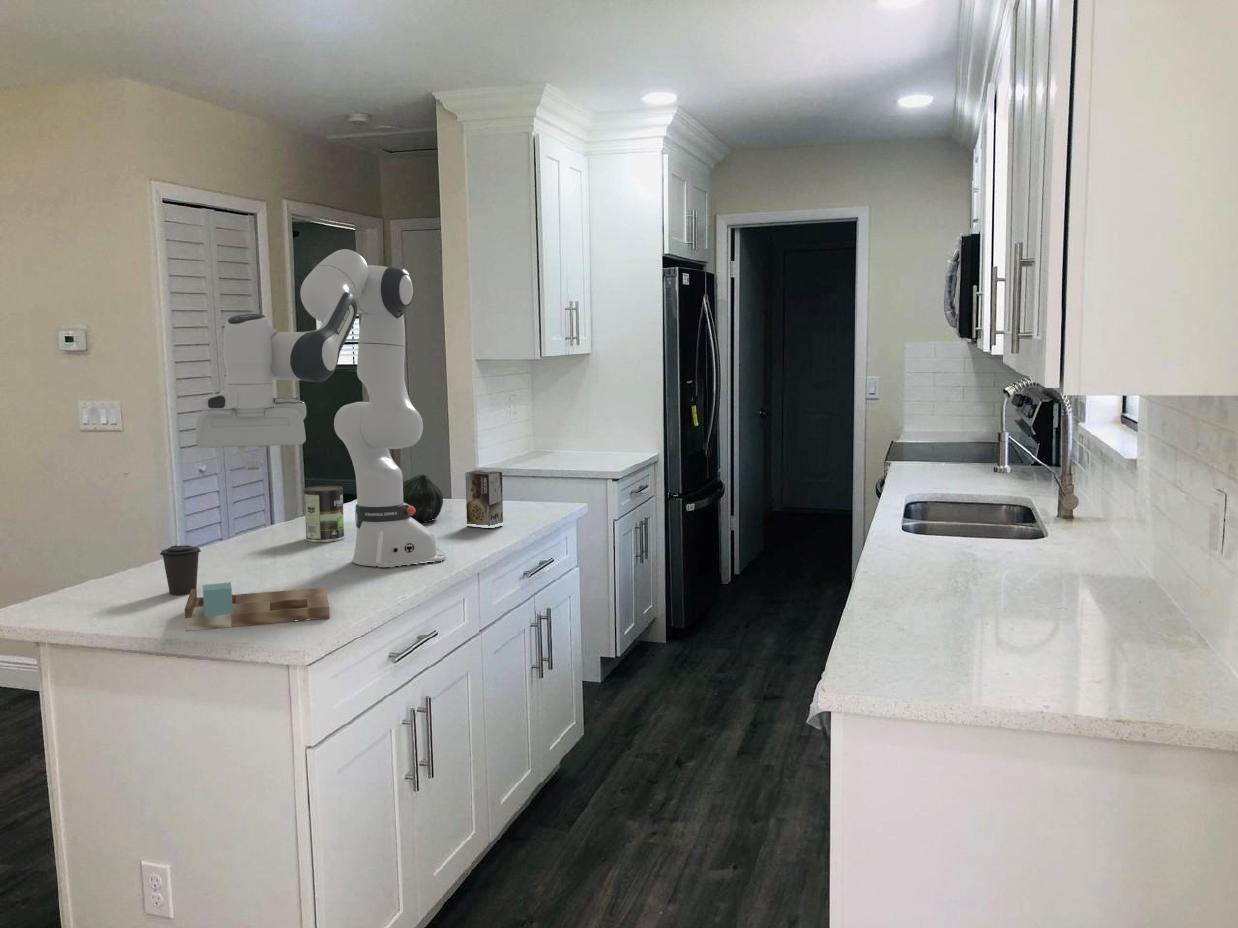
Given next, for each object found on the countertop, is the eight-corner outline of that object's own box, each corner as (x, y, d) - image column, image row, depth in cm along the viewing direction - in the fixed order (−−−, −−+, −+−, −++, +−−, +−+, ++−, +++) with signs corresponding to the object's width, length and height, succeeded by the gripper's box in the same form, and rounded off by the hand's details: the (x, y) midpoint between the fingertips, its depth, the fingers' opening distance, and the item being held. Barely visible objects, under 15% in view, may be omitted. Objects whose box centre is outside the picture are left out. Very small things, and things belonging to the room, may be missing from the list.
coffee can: (349, 535, 282) (347, 485, 281) (338, 542, 272) (336, 490, 270) (312, 535, 283) (310, 485, 281) (300, 542, 272) (298, 490, 271)
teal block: (231, 607, 198) (230, 582, 197) (232, 613, 193) (231, 588, 192) (204, 610, 196) (202, 584, 195) (204, 616, 191) (203, 590, 190)
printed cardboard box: (504, 526, 296) (503, 471, 294) (489, 529, 290) (488, 474, 288) (480, 523, 301) (479, 469, 299) (465, 526, 295) (464, 471, 293)
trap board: (325, 598, 213) (325, 579, 213) (329, 618, 198) (328, 597, 198) (192, 609, 205) (191, 589, 205) (185, 630, 190) (184, 609, 190)
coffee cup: (173, 587, 223) (170, 542, 222) (209, 587, 223) (207, 543, 222) (155, 596, 215) (152, 550, 214) (193, 596, 215) (190, 550, 214)
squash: (389, 498, 312) (393, 466, 301) (438, 498, 316) (443, 466, 305) (392, 535, 303) (396, 503, 292) (442, 534, 307) (448, 503, 296)
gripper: (305, 396, 203) (308, 465, 204) (195, 398, 196) (198, 469, 198) (306, 398, 197) (309, 469, 199) (192, 400, 190) (196, 473, 192)
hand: (253, 469), depth 198 cm, fingers closed
